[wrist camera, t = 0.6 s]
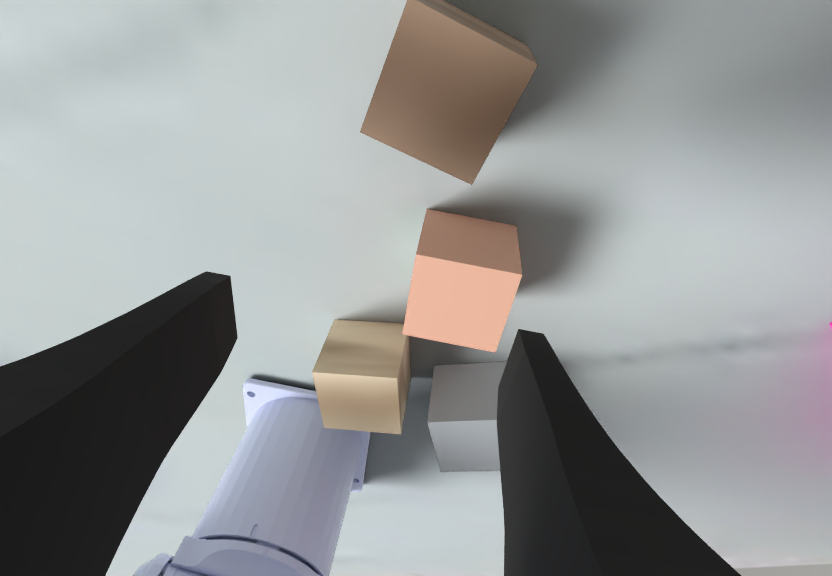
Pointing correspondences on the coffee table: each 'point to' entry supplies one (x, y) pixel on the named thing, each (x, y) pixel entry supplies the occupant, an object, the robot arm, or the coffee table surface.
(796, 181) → the coffee table surface
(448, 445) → the slate cube
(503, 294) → the terracotta cube
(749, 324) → the coffee table surface
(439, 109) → the walnut cube
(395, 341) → the beech cube
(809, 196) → the coffee table surface
